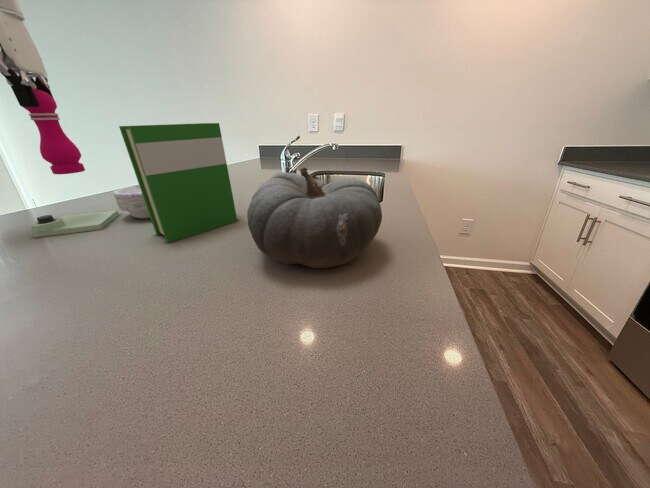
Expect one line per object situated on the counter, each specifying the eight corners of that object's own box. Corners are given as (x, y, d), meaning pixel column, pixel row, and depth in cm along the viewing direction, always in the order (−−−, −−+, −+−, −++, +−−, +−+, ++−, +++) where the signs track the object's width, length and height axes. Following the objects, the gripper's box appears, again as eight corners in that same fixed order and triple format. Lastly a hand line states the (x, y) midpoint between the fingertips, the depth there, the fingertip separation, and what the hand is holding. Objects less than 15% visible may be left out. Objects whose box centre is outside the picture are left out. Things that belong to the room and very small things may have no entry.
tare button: (36, 225, 63) (33, 219, 62) (43, 221, 65) (40, 215, 64) (51, 223, 63) (47, 217, 63) (57, 220, 66) (54, 214, 65)
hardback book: (168, 242, 58) (129, 126, 47) (156, 234, 63) (118, 126, 52) (237, 220, 70) (219, 123, 59) (223, 214, 74) (204, 123, 64)
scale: (31, 238, 62) (24, 227, 61) (59, 221, 73) (54, 211, 71) (101, 229, 66) (96, 218, 65) (119, 214, 77) (115, 205, 75)
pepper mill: (44, 174, 65) (-3, 80, 56) (77, 169, 71) (40, 83, 62) (60, 175, 62) (14, 77, 53) (94, 170, 68) (57, 81, 59)
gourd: (258, 218, 63) (260, 144, 54) (357, 228, 67) (373, 160, 58) (237, 286, 42) (233, 184, 33) (382, 295, 46) (414, 206, 37)
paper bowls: (172, 202, 87) (165, 179, 83) (190, 212, 77) (183, 186, 73) (118, 214, 77) (107, 188, 73) (130, 227, 67) (118, 197, 64)
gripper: (2, 19, 58) (43, 108, 66) (-75, -15, 43) (-11, 105, 51) (43, 21, 60) (78, 108, 68) (-16, -10, 46) (36, 105, 53)
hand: (39, 106), depth 60 cm, fingers closed on pepper mill, 6 cm apart
